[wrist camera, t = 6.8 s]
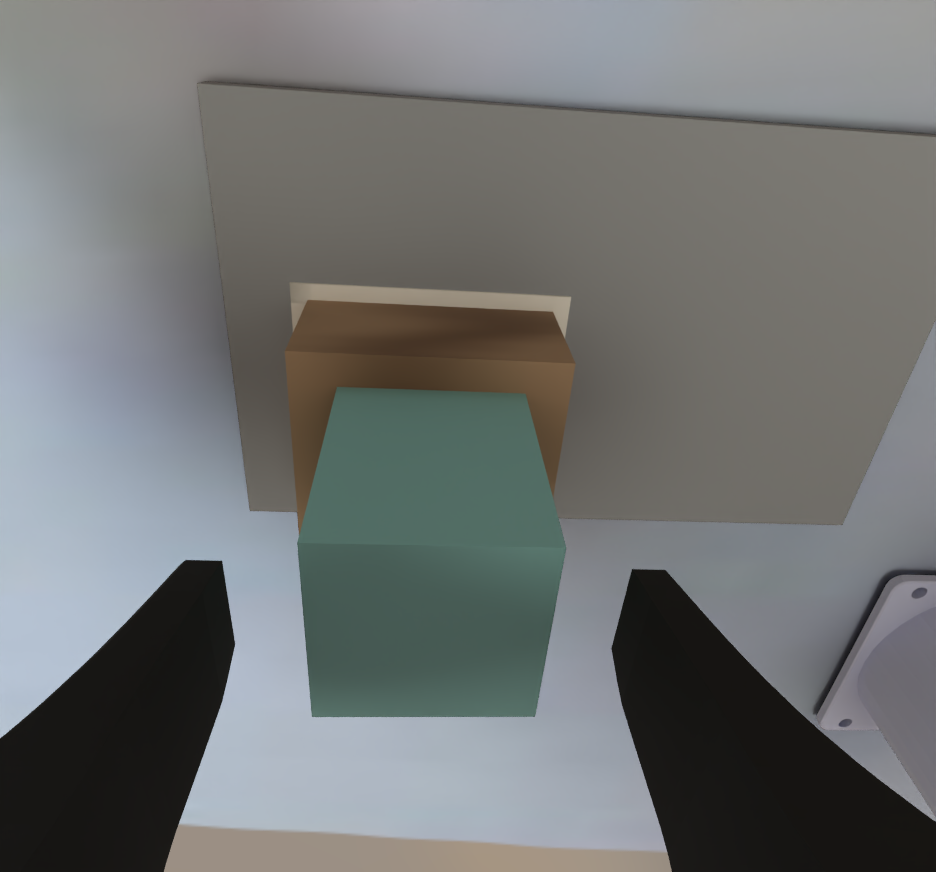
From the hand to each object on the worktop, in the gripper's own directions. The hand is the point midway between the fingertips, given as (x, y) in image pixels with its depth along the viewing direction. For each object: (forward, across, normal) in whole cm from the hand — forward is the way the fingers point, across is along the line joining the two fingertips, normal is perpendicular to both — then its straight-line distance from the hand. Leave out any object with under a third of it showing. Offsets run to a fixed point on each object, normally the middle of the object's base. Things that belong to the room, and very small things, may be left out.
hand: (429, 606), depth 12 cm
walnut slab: (+7, 0, 0) cm, 7 cm away
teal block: (+4, 0, 0) cm, 4 cm away
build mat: (+8, -4, -2) cm, 9 cm away
